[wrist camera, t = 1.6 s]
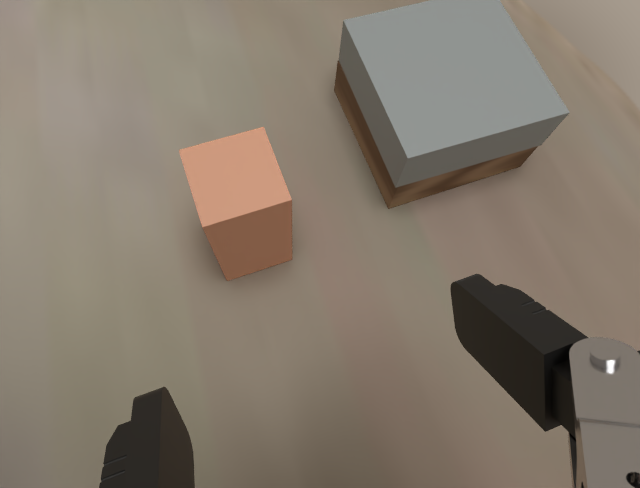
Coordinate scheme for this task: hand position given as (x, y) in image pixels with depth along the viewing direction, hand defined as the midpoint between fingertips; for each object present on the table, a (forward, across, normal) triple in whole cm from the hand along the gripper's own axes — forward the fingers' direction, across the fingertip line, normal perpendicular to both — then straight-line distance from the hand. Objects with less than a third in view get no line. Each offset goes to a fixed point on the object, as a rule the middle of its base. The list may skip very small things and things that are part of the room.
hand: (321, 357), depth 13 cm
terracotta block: (+23, 0, +6) cm, 24 cm away
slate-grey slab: (+24, -17, 0) cm, 29 cm away
